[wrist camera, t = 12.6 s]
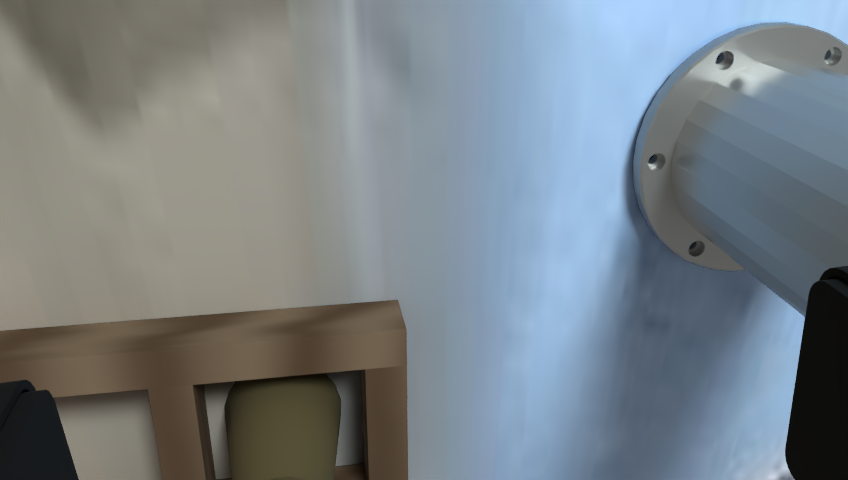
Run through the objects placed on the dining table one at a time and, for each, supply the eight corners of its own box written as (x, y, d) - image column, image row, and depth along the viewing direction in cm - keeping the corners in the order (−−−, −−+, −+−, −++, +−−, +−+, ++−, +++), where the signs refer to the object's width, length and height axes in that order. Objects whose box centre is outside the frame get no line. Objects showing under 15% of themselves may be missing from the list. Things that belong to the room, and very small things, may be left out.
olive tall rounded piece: (332, 460, 43) (346, 628, 33) (218, 453, 42) (198, 627, 32) (349, 365, 41) (371, 514, 31) (230, 355, 40) (213, 508, 30)
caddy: (397, 299, 40) (407, 332, 37) (400, 488, 45) (409, 530, 42) (-73, 336, 37) (-105, 375, 34) (-16, 535, 41) (-39, 585, 38)
